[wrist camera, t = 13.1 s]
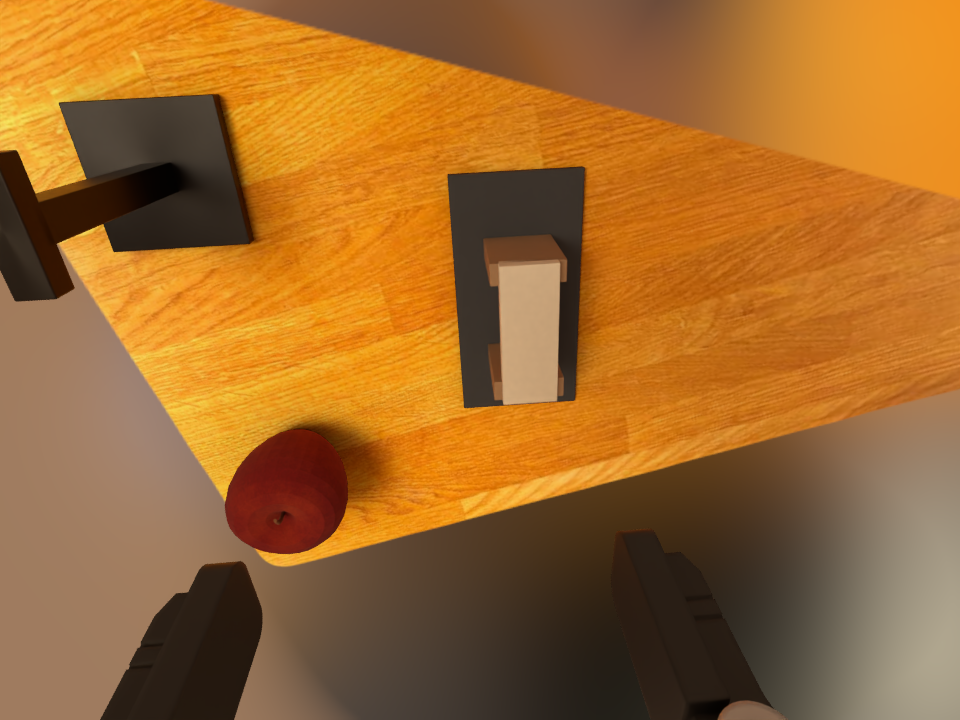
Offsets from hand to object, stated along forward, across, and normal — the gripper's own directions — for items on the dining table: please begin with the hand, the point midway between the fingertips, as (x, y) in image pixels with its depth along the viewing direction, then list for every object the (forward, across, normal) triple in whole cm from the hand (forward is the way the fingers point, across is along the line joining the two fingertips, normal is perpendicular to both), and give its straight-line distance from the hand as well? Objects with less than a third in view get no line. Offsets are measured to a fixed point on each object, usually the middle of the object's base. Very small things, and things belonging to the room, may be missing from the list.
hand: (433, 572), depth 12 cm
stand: (+33, +19, -4) cm, 39 cm away
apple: (+33, +14, +21) cm, 42 cm away
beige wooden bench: (+32, -6, +7) cm, 34 cm away
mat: (+33, -6, +7) cm, 34 cm away
